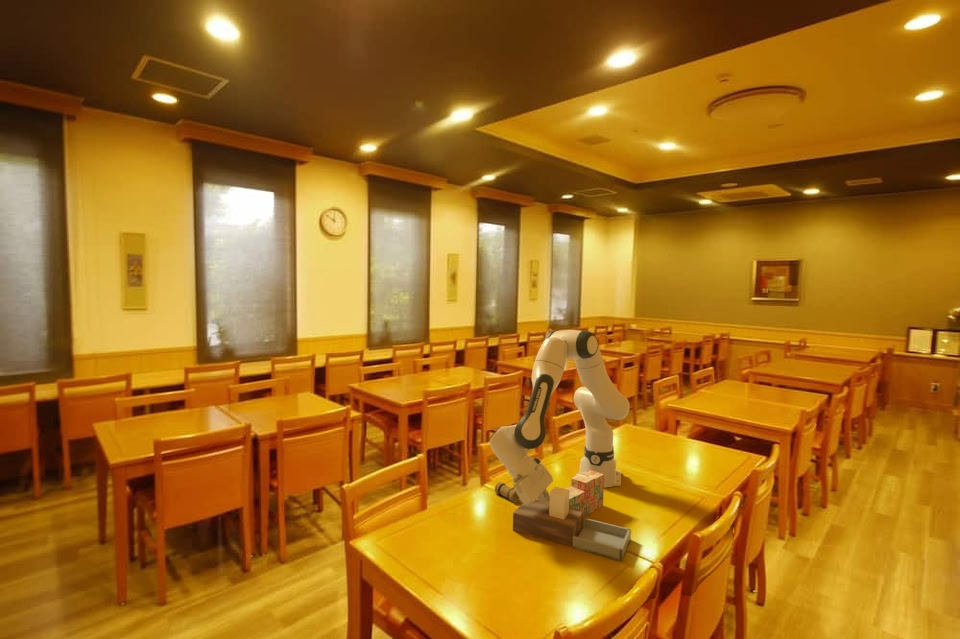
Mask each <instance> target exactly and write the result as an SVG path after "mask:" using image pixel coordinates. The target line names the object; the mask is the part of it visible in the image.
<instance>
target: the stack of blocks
mask: <svg viewBox="0 0 960 639" xmlns="http://www.w3.org/2000/svg"><path fill="white" fill-rule="evenodd" d="M570 479H571V480H570V482H571V483H570V486H569V487H568V486H567V487H566V488H565V489H568V490H569V508H573V509H577V510H582V511H583V518H584V517H585V516H588V515H589V514H590V513H593V512H594V511H596V510H598V509H601V508H602V507H604V493H605V491H604V489H605V488H604V474H601V473H598V472H595V471H592V470H589V471H586V472H583V473H581V474H579V475H577V476H576V475H575V476H573V477H571V478H570Z"/></svg>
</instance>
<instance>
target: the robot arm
mask: <svg viewBox="0 0 960 639" xmlns="http://www.w3.org/2000/svg"><path fill="white" fill-rule="evenodd" d="M567 359H568V360H570V359H573V360H574V363H575V367H576V371H577V374H578V378H579V381H580V383H581V384H582V385H583V386H581V387H579V388H577V389H576V390H575V391H574V395H573V403H574V405H575V407H576V408H577V409H578V411H579V412H580V413H579V414H581V418H582V419H583V422H584V426H585V428H584V429H585V446H584V451H583V452H584V454H583V457H581V459H580V464H579V472H577V473H576V474H575V476H577V475H579V474H581V473H583V472H586V471H589V470H592V471H595V472H598V473H601V474H604V489H605V488H612V487H621V486H622V471H621V470H619V469H617V460H616V459H615V451H614V450H615V447H614V431H613V428H612V427H611V426H610V425H609V423H608V421H607V420H606V419H608V420H615V421H616V420H617V421H619V420H624V419H625V418H626V417H627V416H628V414H629V412H630V407H631V406H630V401H629V400H628V398H627V397H626V396H625V395H624V394H622V393H621V392H620V391H619V390H618V389H617V388H616V385H615V384H614V383H613V382H612V380H611V379H610V377H609V374H608V372H607V368H606V365H605V362H604V358H603V355H602V352H601V349H600V347H599V340H598V337H597V336H596V334H595V333H593V332H592V331H589V330H579V329H563V330H552V331H549V332H548V333H547V334H546V335H545V337H544V339H543V342H542V343H541V345H540V347H539V349H538V352H537V353H536V356H535V360H534V363H533V366H532V370H531V378H530V380H531V383H532V392H531V395H530V399H529V402H528V406H527V409H526V412H525V414H524V415H523V417H522V418H521V419H520V420H519V421H518V422H517V423H516V424H514V425H508V426H500V427H498V428H497V429H496V430H495V431H494V433H493V434H492V435H491V436H490V438H489V446H490V448H491V450H492V452H493V453H494V455H495V456H496V457H497V459H498V460H499V462H500V463H502V464H503V466H504V467H505V468H506V470H507V472H508V474H509V475H511V477H512V479H513V480H512V483H513V487H515V491H516V493H517V495H518V496H519V498H520V499H519V500H520V501H521V502H522V503H523V504H524V505H526V506H529V505H531V504H532V503H533V502H534V501H535V500H538V501H540V502H541V503H543V504H544V505H545V506H546V507H547V508H548V507H549V506H550V492H549V491H548V490H547V488H548V487H550V485H551V484H552V483H553V482H554V479H553V475H552V474H551V473H550V472H549V470H548V468H547V467H546V466H545V465H543V464H542V461H541V459H540V458H539V457H530V455H529V454H528V451H530V450H533V449H537V448H539V447H540V446H541V445H542V444H543V443H544V441H545V438H546V427H545V418H546V417H545V416H546V413H547V410H548V406H549V403H550V399H551V397H552V394H553V392H554V391H555V390H556V388H557V387H558V386H559V384H560V382H561V379H562V377H563V374H564V371H565V367H566V363H567Z"/></svg>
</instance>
